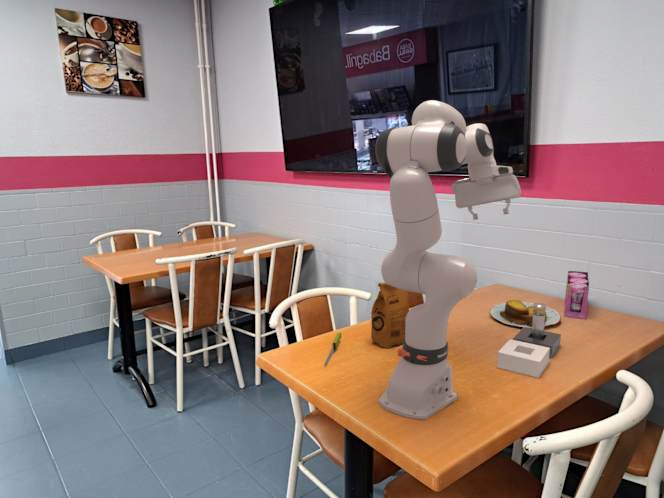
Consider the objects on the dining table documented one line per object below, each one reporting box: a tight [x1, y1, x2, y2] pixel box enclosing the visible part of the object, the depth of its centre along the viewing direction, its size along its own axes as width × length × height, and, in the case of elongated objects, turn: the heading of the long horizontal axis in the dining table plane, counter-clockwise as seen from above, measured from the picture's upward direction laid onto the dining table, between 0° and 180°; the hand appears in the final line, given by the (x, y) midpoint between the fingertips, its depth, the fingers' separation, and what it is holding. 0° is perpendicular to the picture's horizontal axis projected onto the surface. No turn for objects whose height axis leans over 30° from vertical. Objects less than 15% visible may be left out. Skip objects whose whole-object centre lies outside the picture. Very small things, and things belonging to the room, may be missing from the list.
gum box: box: [563, 270, 590, 320], centre depth 190 cm, size 24×8×14 cm, turn 153°
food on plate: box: [489, 299, 562, 328], centre depth 182 cm, size 25×25×7 cm
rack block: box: [496, 339, 550, 379], centre depth 143 cm, size 12×12×5 cm
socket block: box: [512, 327, 562, 359], centre depth 156 cm, size 12×12×4 cm
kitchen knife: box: [324, 332, 342, 367], centre depth 154 cm, size 22×1×3 cm, turn 167°
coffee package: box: [370, 282, 410, 349], centre depth 162 cm, size 10×12×22 cm
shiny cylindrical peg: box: [531, 302, 547, 340], centre depth 155 cm, size 4×4×15 cm
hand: (491, 216), depth 150 cm, fingers open, 8 cm apart
